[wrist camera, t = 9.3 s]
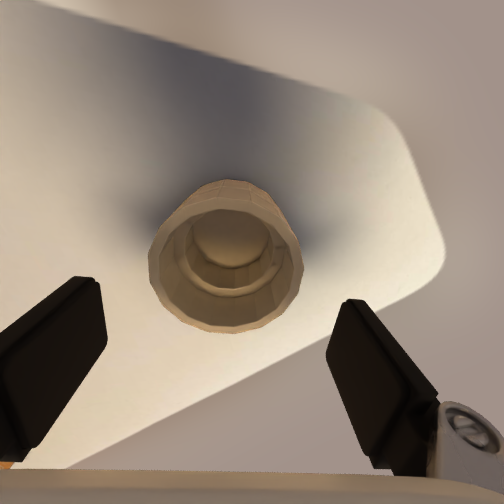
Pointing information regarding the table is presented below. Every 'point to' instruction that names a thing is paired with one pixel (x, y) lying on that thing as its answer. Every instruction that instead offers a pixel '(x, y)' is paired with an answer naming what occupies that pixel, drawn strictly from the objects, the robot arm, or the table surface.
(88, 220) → the table surface
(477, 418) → the robot arm
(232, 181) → the little bowl
